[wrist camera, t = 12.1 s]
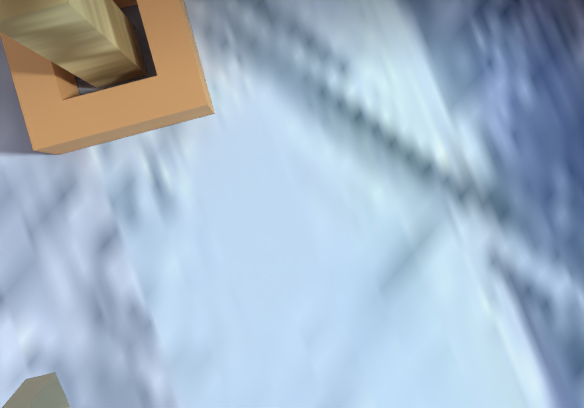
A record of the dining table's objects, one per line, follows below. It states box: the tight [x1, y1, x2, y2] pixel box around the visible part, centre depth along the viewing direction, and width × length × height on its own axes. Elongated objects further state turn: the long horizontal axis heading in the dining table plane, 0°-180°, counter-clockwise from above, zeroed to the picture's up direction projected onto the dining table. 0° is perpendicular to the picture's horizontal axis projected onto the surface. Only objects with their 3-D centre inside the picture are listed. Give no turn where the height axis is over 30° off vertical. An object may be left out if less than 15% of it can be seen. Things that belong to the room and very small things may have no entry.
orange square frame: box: [0, 0, 215, 155], centre depth 32 cm, size 11×11×4 cm
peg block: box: [0, 0, 147, 88], centre depth 26 cm, size 4×4×15 cm
